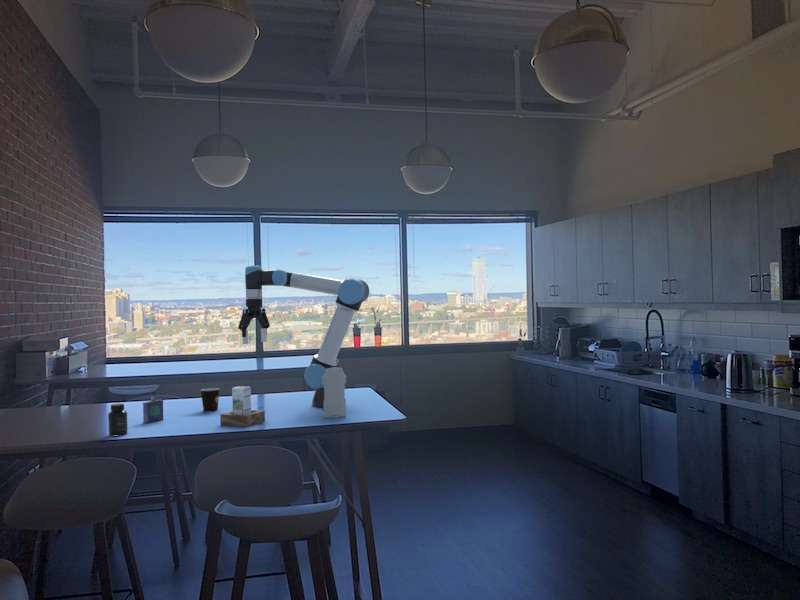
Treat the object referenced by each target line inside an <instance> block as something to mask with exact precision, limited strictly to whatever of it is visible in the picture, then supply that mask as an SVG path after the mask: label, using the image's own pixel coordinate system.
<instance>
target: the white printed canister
mask: <svg viewBox="0 0 800 600" xmlns="http://www.w3.org/2000/svg"><path fill="white" fill-rule="evenodd" d="M251 390H252V389H251V386H244V385H243V386H242V385H239V386H234V387H232V388H231V393H232V394H231V395H232V396H231V397H232V411H233V414H236V415H246V414H250V413H251V410H252V398H251V397H252V396H251V395H252V393H251V392H252V391H251Z"/></svg>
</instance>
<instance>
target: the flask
mask: <svg viewBox="0 0 800 600" xmlns="http://www.w3.org/2000/svg"><path fill="white" fill-rule="evenodd" d="M142 414H143V417H142V418H143V421H142V422H143V424H149V423H148V422H150V423H154V422H153V421H155V422H159V421H158V420H160V421H163V420H164V400H163V399H159V398H156V399H155V397H154V396H151V397H150V400H149V401H144V402H143V403H142Z"/></svg>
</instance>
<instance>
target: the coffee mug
mask: <svg viewBox="0 0 800 600" xmlns="http://www.w3.org/2000/svg"><path fill="white" fill-rule="evenodd" d="M200 394H201V401H202V408H203V412H205V411H212V412H216V410H217V411H218V410H219V399H220V388H218V387H211V388H202V389H200Z"/></svg>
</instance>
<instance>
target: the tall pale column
mask: <svg viewBox="0 0 800 600" xmlns="http://www.w3.org/2000/svg"><path fill="white" fill-rule="evenodd" d="M346 383H347V374H345V372H344V369H343V367H339V368H337V367H332V368H328V369H325V373H324V375H323V376H322V384H323V385H324V397H325V398H324V402H323V403H324V407H323V418H325V419H331V418H332V419H334V418H346V417H347V401H346V397H345V396H346V395H345V394H346V393H345V391H346V390H345V389H346V388H345V387H346Z"/></svg>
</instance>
